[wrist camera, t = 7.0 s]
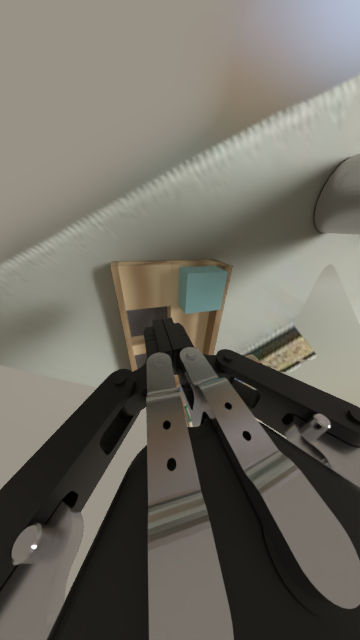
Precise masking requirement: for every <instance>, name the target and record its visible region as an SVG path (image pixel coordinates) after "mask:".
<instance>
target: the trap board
mask: <svg viewBox="0 0 360 640" xmlns="http://www.w3.org/2000/svg"><path fill="white" fill-rule="evenodd" d="M198 266H216V267H219V268H221V269H223V270H225V271H228V274H227V279H226V284H225V289H224V293H223V298H222V303H221V308H220V310H213V311H205V312H197V313H190V314H185V313H184V312H183V310H182V309H181V307H180V306H179V304H178V291H179V267H198ZM110 267H111V272H112V277H113V282H114V287H115V291H116V296H117V301H118V306H119V311H120V316H121V320H122V325H123V330H124V335H125V340H126V345H127V350H128V354H129V359H130V364H131V369H132V372H133V371H135V370H137V369H139V368H140V367H142V366H143V365H144V364H145V362H146V360H147V355H146V347H145V339H144V330H145V328H146V327H151V326H152V320H154V319H162V318H170V317H171V318H172V320H173V322H174V323H180V324H181V325H182V326H183V327H184V329H185V331H186V332H187V335H188V336H189V338H190V340H191V342H192V344H193V345H194V347H195V348H197V349H199V350H200V351H201V352H202V354H206V355H213V354H214V350H215V345H216V340H217V336H218V331H219V326H220V322H221V317H222V312H223V308H224V303H225V298H226V294H227V289H228V284H229V280H230V275H231V271H232V266H230V265H228V264H225V263H222V262H220V261H217V260H171V261H127V262H112V263H111V266H110ZM174 376H175V381H176V386H177V388H179V378H178V375H174Z"/></svg>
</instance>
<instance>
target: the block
mask: <svg viewBox="0 0 360 640" xmlns="http://www.w3.org/2000/svg"><path fill="white" fill-rule="evenodd" d="M227 274H228V271H225V270H223V269H221V268H219V267H216V266H198V267H179V291H178V304H179V306H180V307H181V309H182V310H183V312H184V313H185V314H190V313H197V312H205V311H213V310H220V308H221V303H222V298H223V293H224V289H225V284H226V279H227Z"/></svg>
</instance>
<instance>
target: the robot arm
mask: <svg viewBox="0 0 360 640" xmlns="http://www.w3.org/2000/svg"><path fill="white" fill-rule="evenodd" d="M315 225H316V228H317V229H318V231H320V232H322V233H339V234H360V154H358V155H355V156H352V157H350V158H348V159H347V160H345V161H344V162H343V163H342V164H341V165H340V166H339V167H338V168H337V169H336V170H335V171H334V172H333V174H332V175H331V176H330V178H329V179H328V181H327V183H326V184H325V186H324V188H323V190H322V192H321V194H320V197H319V199H318V202H317V206H316V210H315ZM144 339H145V347H146V355H147V360H146V362H145V364H144V365H143V366H142V367H140V368H139V369H137V370H135V371H133V372H132V371H130V370H128V369H120V370H117V371H115V372H113V373H112V374H110V375H109V376H108V377H107V379H106V380H105V381H104V382H103V383H102V384H101V385H100V386H99V387H98V388H97V389H96V390H95V391H94V392H93V393H92V394H91V395H90V396H89V397H88V398H87V399H86V401H85V402H84V403H83V404H82V405H81V406H80V407H79V408H78V409H77V410H76V411H75V412H74V413H73V414H72V415H71V416H70V417H69V418H68V419H67V420H66V421H65V423H64V424H63V425H62V426H61V427H60V428H59V429H58V430H57V431H56V432H55V433H54V434H53V435H52V436H51V437H50V439H48V440H47V441H46V442H45V444H44V445H43V446H42V447H41V448H40V449H39V450H38V451H37V452H36V453H35V454H34V455H33V456H32V457H31V458H30V459H29V460H28V461H27V462H26V463H25V464H24V466H23V467H22V468H21V469H20V470H19V471H18V472H17V473H16V474H15V475H14V476H13V477H12V478H11V479H10V480H9V481H8V482H7V483H6V484H5V485H4V486H3V488H2V489H1V490H0V640H360V408H359V407H357V406H355V405H353V404H351V403H349V402H346V401H344V400H342V399H340V398H337V397H335V396H333V395H331V394H328V393H326V392H324V391H322V390H319V389H317V388H315V387H313V386H310V385H308V384H306V383H303V382H301V381H299V380H297V379H294V378H292V377H290V376H288V375H285V374H283V373H281V372H279V371H276V370H274V369H272V368H270V367H267V366H265V365H263V364H261V363H258V362H256V361H254V360H252V359H249V358H247V357H245V356H243V355H240V354H238V353H236V352H233V351H231V350H227V349H224V350H220V351H218V353H217V355H206V354H202V352H201V351H200V350H199V349H197V348H195V347H194V345H193V344H192V342H191V340H190V338H189V336H188V335H187V332H186V331H185V329H184V327H183V326H182V325H181V324H180V323H174V322H173V320H172V318H171V317H170V318H162V319H154V320H152V326H151V327H146V328H145V330H144ZM174 375H178V378H179V387H180V390H181V392H182V395H183V397H184V400H185V402H186V405H187V407H188V410H189V412H190V415H191V421H192V425H193V427H187V423H186V419H185V414H184V409H183V405H182V400H181V396H180V392H179V390H177V386H176V381H175V376H174ZM235 378H236V379H238V380H240V381H242V382H244V383H246V384H248V385H250V386H251V387H253V388H255V389H257V390H254V389H252V388H250V387H248V386H247V385H245V384H243V383H241V382H239V381H237V380H235ZM145 407H146V410H147V411H146V412H147V445H146V446H145V447H144V448H143V449H142V450H141V451H140V452H139V453H138V454H137V456H136V457H135V459H134V460H133V461H132V463H131V465H130V466H129V468H128V470H127V472H126V474H125V476H124V478H123V480H122V482H121V484H120V486H119V489H118V490H117V493H116V495H115V497H114V499H113V501H112V503H111V505H110V507H109V510H108V512H107V514H106V516H105V518H104V520H103V522H102V524H101V526H100V528H99V531H98V533H97V535H96V537H95V539H94V541H93V543H92V545H91V547H90V549H89V551H88V554H87V556H86V558H85V560H84V562H83V564H82V566H81V568H80V570H79V573H78V575H77V577H76V579H75V581H74V583H73V585H72V587H71V590H70V591H69V594H68V596H67V598H66V600H65V602H64V597H65V588H66V583H67V579H68V575H69V572H70V569H71V566H72V564H73V561H74V559H75V556H76V554H77V552H78V550H79V547H80V544H81V540H82V536H83V528H84V524H83V517H82V515H81V513H80V512H81V511H82V509H83V507H84V506H85V504H86V502H87V501H88V499H89V497H90V496H91V494H92V492H93V490H94V489H95V487H96V485H97V484H98V482H99V480H100V479H101V477H102V475H103V474H104V472H105V470H106V469H107V467H108V465H109V463H110V462H111V460H112V459H113V457H114V455H115V454H116V452H117V450H118V448H119V447H120V445H121V444H122V442H123V440H124V438H125V437H126V435H127V433H128V432H129V430H130V428H131V427H132V425H133V423H134V422H135V420H136V418H137V417H138V415H139V413H140V411H141V410H142V409H144V408H145ZM256 418H257V419H258V420H260V421H261V422H263V423H265V424H266V425H268V426H270V427H271V428H273V429H274V430H276V431H278V432H279V433H281V434H282V435H284V436H286V438H287V439H285V438H284V437H282V436H281V435H279V434H277V433H276V432H274V431H273V430H271V429H270V428H268V427H267V426H265V425H264V424H262V423H261V422H259V421H257V419H256Z"/></svg>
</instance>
